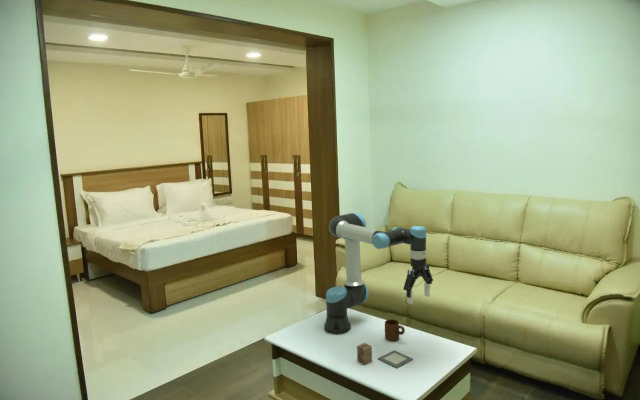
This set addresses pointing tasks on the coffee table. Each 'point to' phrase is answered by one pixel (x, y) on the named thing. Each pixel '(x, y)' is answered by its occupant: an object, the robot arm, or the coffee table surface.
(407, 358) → the mat
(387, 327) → the mug
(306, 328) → the coffee table surface
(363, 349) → the walnut block
